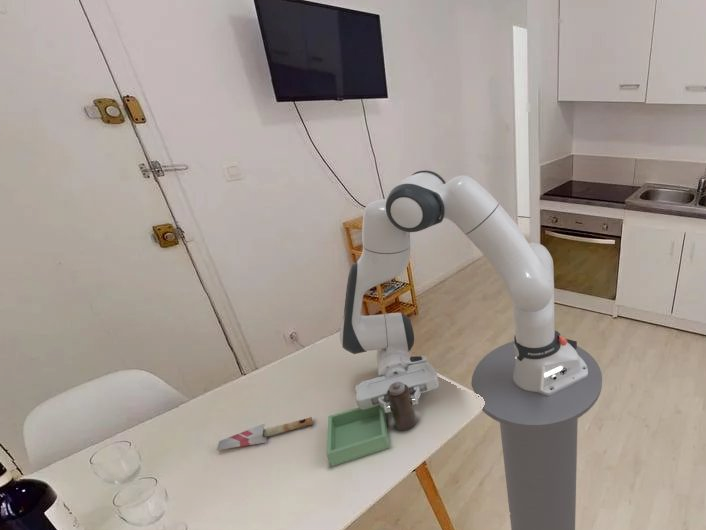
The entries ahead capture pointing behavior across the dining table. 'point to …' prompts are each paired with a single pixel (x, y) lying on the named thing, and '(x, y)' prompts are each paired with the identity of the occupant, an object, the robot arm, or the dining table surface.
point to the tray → (356, 434)
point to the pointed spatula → (260, 434)
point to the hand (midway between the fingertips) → (401, 406)
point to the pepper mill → (401, 406)
